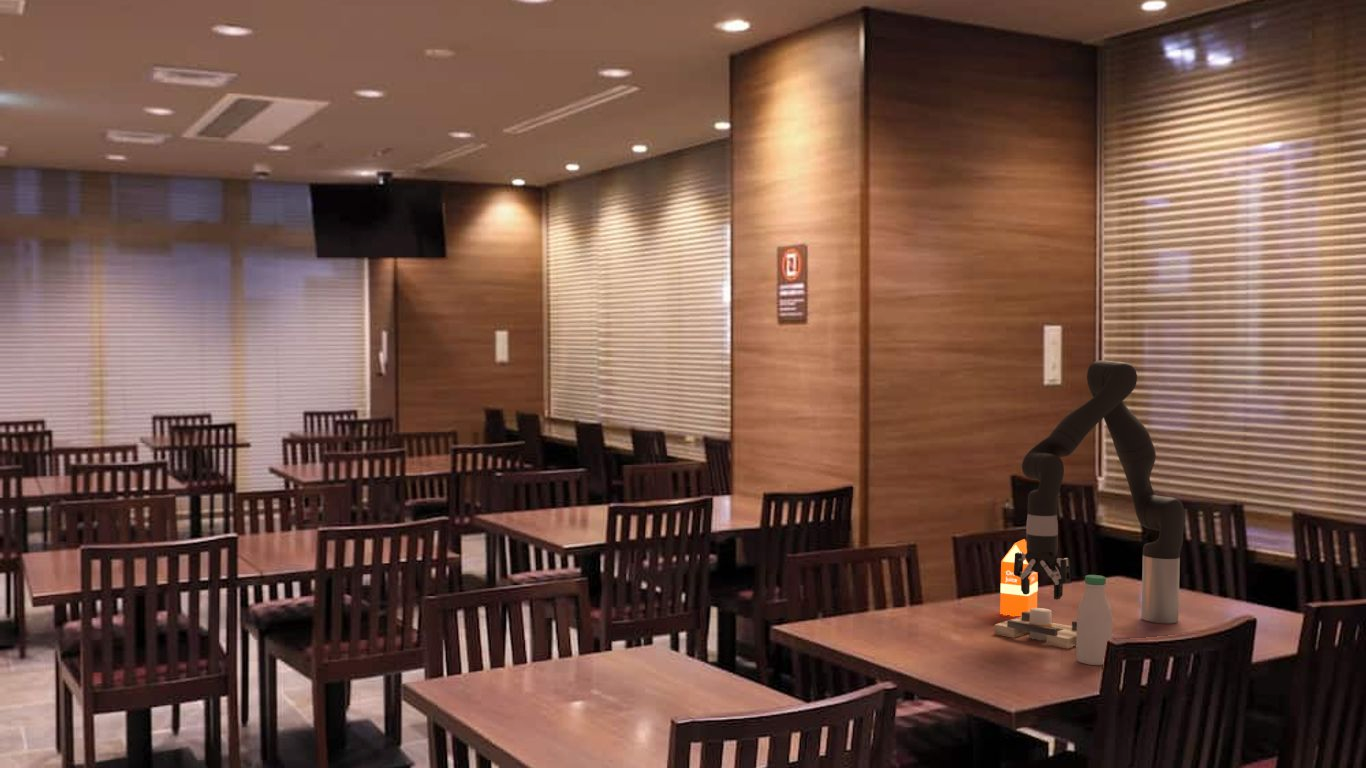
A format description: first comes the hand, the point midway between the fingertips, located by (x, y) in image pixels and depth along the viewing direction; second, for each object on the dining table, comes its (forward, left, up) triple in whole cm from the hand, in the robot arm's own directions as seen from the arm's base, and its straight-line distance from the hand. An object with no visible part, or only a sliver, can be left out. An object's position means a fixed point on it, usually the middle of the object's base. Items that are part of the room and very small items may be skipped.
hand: (1041, 596), depth 304 cm
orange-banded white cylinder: (0, 0, -10) cm, 10 cm away
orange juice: (-21, -18, -11) cm, 29 cm away
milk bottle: (+12, +20, -11) cm, 26 cm away
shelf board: (-1, 0, -10) cm, 10 cm away
